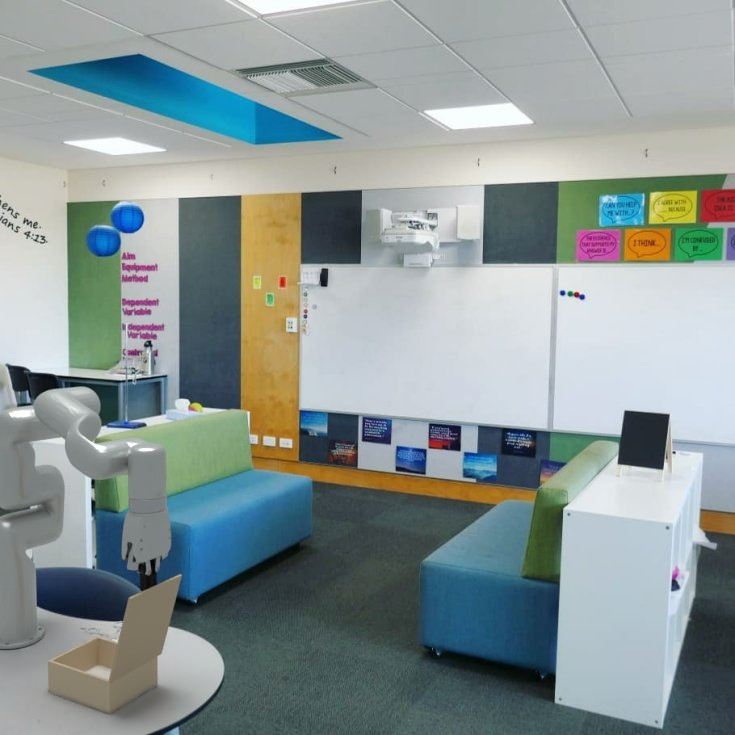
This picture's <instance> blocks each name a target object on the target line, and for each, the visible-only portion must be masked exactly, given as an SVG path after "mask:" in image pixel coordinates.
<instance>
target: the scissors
mask: <svg viewBox="0 0 735 735" xmlns="http://www.w3.org/2000/svg"><path fill="white" fill-rule="evenodd" d="M120 623H121V624H122V623H123V620H120V621H115V622H114V623H113V628H114V629H115V628H116V630H115V631H114V632H113V633H110V634H108V633H102V632H100V630H101V629H100V628H99V627H84V626H81V627H80V630H85V633H86V632H87V633H90V634H89V635H94V634H93V633H97V634H96V635H99V636H104V635H106V636H105V637H106V638H108V637H109V638H110V639H109V638H108V639H109V640H111V639H115V640H117V639H118V637H117V635H118V634H117V633H119V632H120V630H121V628H122V625H120V626H118V625H117V624H120ZM89 629H90V630H95V629H96V631H90V630H89ZM87 633H86V634H87ZM116 634H117V635H116Z"/></svg>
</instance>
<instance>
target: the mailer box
mask: <svg viewBox="0 0 735 735" xmlns="http://www.w3.org/2000/svg"><path fill="white" fill-rule="evenodd" d="M117 644H118V642H115V641H112V640H111V639H109V638H105V637H102V636H100V635H99V636H96V637H94V638H91V639H90V640H88V641H86V642H83V643H82V644H79V645H78V646H75V647H73V648H72V649H69V650H68V651H66V652H63V653H62V654H59V655H57V656H56V657H53V658H51V659H49V660H47V680H48V681H47V684H48V685H47V686H48V688H47V689H48V693H50V694H53V695H55V696H58V697H60V698H63V699H66V700H69V701H72V702H75V703H77V704H79V705H82V706H85V707H88V708H90V707H91V709H94V710H96V711H98V712H102V713H105V714H107V715H111V714H113V713H115V712H116V711H117V710H119V709H121V708H123V707H124V706H126V705H127V704H129V703H131V702H132V701H134V700H135V699H138V697H141V696H142V695H143V694H145V693H147V692H148V691H150V690H151V689H153V688H155V687H157V686H158V685H159V684H158V677H159V676H158V656H157V657H155V658H153V659H151V660H150V661H148V662H146V663H144V664H143V665H141V666H139V667H137V668H136V669H134V670H132V671H130V672H129V673H127V674H125V675H124V676H122V677H120V678H118V679H117V680H115V681H113V682H111V683H109V682H108V681H109V677H110V673H111V669H112V665H113V661H114V657H115V652H116V648H117Z"/></svg>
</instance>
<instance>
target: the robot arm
mask: <svg viewBox="0 0 735 735" xmlns="http://www.w3.org/2000/svg"><path fill="white" fill-rule="evenodd" d="M100 411H101V400H100V398H99V396H98V394H97V393H96V391H94V390H93V389H91V388H89V387H87V386H74V387H63V388H62V387H61V388H52V389H48V390H46V391H44V392H41V393H40V394H39V395H38V396H37V397H36V399H35V400H34V402H33V405H25V406H16V407H11V408H7V409H5V410H2V411H0V508H1V509H3V510H5V511H7V510H8V511H12V510H13V511H14V510H19V511H14V512H10V513H6V514H3V515H1V516H0V650H13V649H14V650H15V649H21V648H25V647H28V646H31V645H33V644H35V643H37V642H38V641H40V640H41V639H42V638H43V637H44V635H45V628H44V627H42V626H41V625H40V624H38V610H37V609H38V608H37V607H38V606H37V602H38V601H37V571H36V570H37V569H36V564H35V563H34V560H32V559H31V557H30V556H29V555H28V554H27V551H28V550H31V549H33V548H37V547H41V546H45V545H48V544H51V543H53V542H56V541H57V540H58V539H60V537H61V536H62V533H63V528H64V519H65V517H64V515H65V493H66V492H65V490H66V488H65V487H66V486H65V480H64V477H63V475H62V472H61V470H59V468H58V467H56V466H55V465H52V464H41V465H40V464H39V465H36V452H35V449H34V447H33V445H32V443H33V442H39V441H45V440H47V441H48V440H52V439H61V438H62V439H63V440H64V450H65V454H66V457H67V459H68V461H69V463H70V464H71V466H73V468H75V469H76V470H77V471H79V472H80V473H81V474H83V475H84V476H85V477H87V478H89V479H92V480H95V481H96V480H97V481H98V480H100V481H101V480H102V481H103V480H107V479H112V478H117V477H121V476H127V483H128V484H127V487H128V488H127V490H128V491H127V494H128V495H127V496H128V506H127V507H128V512H127V513H125V516H124V521H123V526H122V527H123V529H122V535H121V536H122V538H121V559H122V560H123V561H124V562H125V561H126V562H127V564H126V568H127V569H126V570H130V571H136V572H137V573H138V574H139V590H140V592H142V591H144V590H147V589H149V588H151V587H153V586H155V585H157V584H158V572H159V571H160V566H161V563H162V561H163V560H164V559H166V558H167V557H168V556H169V551H170V550H171V547H172V530H171V529H172V528H171V520H170V513H169V510H168V507H167V499H168V494H167V451H166V448H165V446H163V444H161V443H160V444H159V443H155V442H148V441H146V440H144V439H143V438H140V437H126V438H121V439H119V438H118V439H114V440H107V441H102V442H94V441H95V440H96V439H97V438H98V436H99V434H100V433H101V429H102V419H101V418H100V415H99V414H100ZM35 506H37V507H35ZM30 507H33V508H30ZM25 508H26V509H25ZM27 508H29V509H27ZM21 509H24V510H21Z"/></svg>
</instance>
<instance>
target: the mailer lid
mask: <svg viewBox="0 0 735 735" xmlns="http://www.w3.org/2000/svg"><path fill="white" fill-rule="evenodd" d="M182 576H183V575H182V574H181V573H179V574H178V575H177V574H176V575H175V576H173V577H171V578H168V579H166V580H164V581H162V582H159V583H157V585H155V586H153V587H151V588H149V589H147V590H144V591H140V592H138V593H135V594H134V595H131V596H129V597H128V599H127V604H126V608H125V612H124V615H123V620H122V621H123V623H121V626H122V628H120V631H119V637H118V639H119V640H118V644H117V648H116V652H115V657H114V661H113V665H112V669H111V673H110V677H109V681H108V682H109V683H111V682H113V681H115V680H117V679H118V678H120V677H122V676H124V675H125V674H127V673H129V672H130V671H132V670H134V669H136V668H137V667H139V666H141V665H143V664H144V663H146V662H148V661H150V660H151V659H153V658H155V657H157V658H158V656H160V655H162V654H163V649H164V646H165V642H166V638H167V635H168V631H169V627H170V623H171V620H172V619H171V618H172V614H173V611H174V608H175V604H176V599H177V595H178V591H179V588H180V584H181V580H182Z"/></svg>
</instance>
